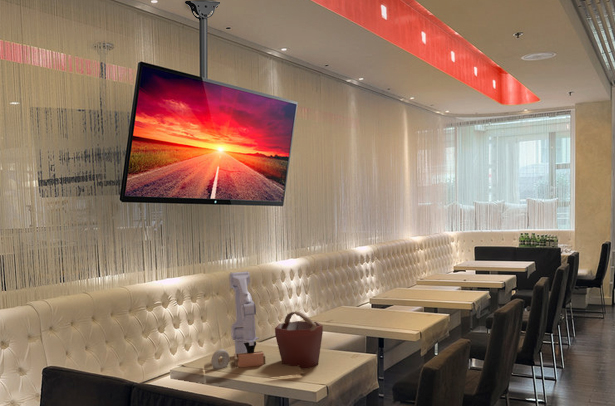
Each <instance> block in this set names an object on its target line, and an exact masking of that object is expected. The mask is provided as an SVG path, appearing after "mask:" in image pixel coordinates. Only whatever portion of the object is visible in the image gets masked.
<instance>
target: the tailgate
mask: <svg viewBox="0 0 615 406" xmlns="http://www.w3.org/2000/svg"><path fill="white" fill-rule="evenodd" d="M263 353H264V351H263V352H259V353H249V354H239V355H238V358H239V366H238V367H237V368H245V367H247V368H248V367H254V366H255V367H256V366H264V365H265V364H263Z"/></svg>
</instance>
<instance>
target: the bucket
mask: <svg viewBox="0 0 615 406" xmlns="http://www.w3.org/2000/svg"><path fill="white" fill-rule="evenodd" d="M293 315H297V316H299V317H300V318H301V319H303V320H296V321H291V319H292V316H293ZM323 327H324V326H323V324H321V322H320V323H319V322H318V321H314V320H311V318H310V317H309V316H307V315H306V314H304V313H303V312H300V311H291V312H289V313H288V314H287V315H285V318H284V322H282V323H279V324H278V325H277V326H275V328H274V334H275V338H276V343H277V348H278V352H279V355H280V360H281V363H282V364H283V365H287V366H291V367H299V369H301V370H302V369H303V370H304V369H310V368H312V367H315V366H317V365H319V361H320V354H321V347H322V340H323V333H324V330H323Z"/></svg>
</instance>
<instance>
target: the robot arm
mask: <svg viewBox="0 0 615 406" xmlns="http://www.w3.org/2000/svg"><path fill="white" fill-rule="evenodd" d="M228 275H229V276H228V279H229V288H230V289H233V291H234V303H235V305H234V306H235V321H234V322H233V323H232V324H231V329H230V333H231V334H230V335H231V339H232V340H233V341H234V351H235V352H234V354H238V353H247V354H249V353H254V352H255V348H256V347H257V340H260V339H259V337H258V336H257V333H256V331H257V329H256V315H257V306H256V303H255V302H254V301H253V297H252V294H251V293H250V292H249V290H248V287H249V286H248V285H249V284H250V282H251V275H250V272H249V271H237V272H230V273H229V274H228Z"/></svg>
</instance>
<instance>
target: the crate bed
mask: <svg viewBox="0 0 615 406" xmlns="http://www.w3.org/2000/svg"><path fill="white" fill-rule="evenodd" d="M259 352H263V364H264V365H266V355H265V354H264V351H262V350H260V351H254V353H259ZM239 354H247V353H238V354H235V353H233V361H234V366H235V367H236V368H239V367H238V366H239V358H238V355H239Z"/></svg>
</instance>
